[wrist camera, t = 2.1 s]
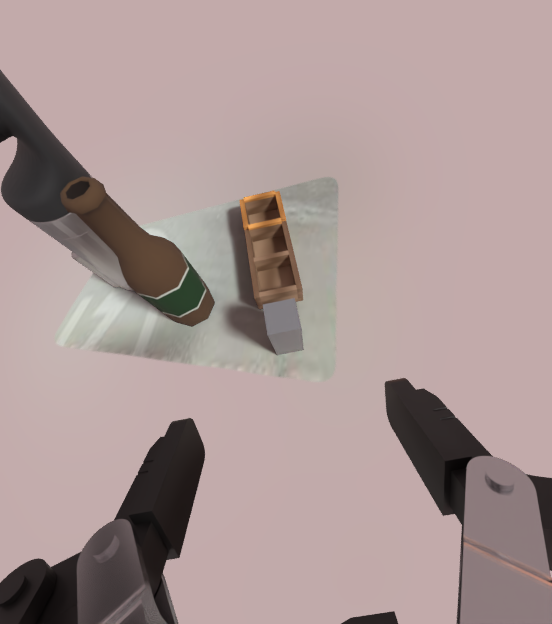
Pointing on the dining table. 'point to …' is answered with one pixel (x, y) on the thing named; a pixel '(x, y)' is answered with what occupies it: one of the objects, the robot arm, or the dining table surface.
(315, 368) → the dining table surface
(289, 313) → the block
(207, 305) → the beer bottle
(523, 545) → the robot arm
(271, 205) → the bay rack
